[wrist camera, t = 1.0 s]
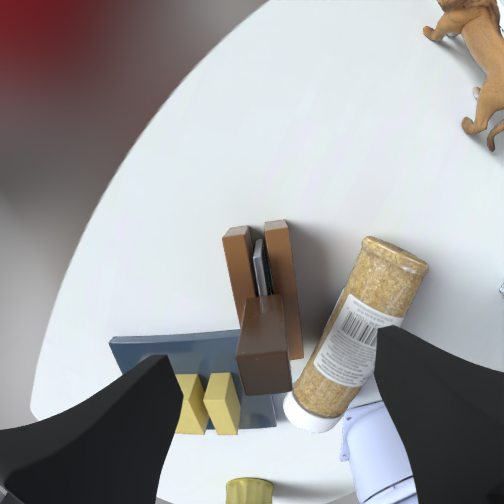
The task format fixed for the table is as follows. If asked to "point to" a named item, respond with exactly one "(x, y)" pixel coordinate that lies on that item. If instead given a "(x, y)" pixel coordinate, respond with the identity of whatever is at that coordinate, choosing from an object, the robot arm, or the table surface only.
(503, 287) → the light bulb box
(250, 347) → the knife
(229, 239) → the brown slab pair
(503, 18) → the computer
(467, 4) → the lion figurine
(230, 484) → the vase
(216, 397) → the butter slice
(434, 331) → the table surface
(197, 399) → the butter block
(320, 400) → the sprinkles bottle
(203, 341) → the dark square plate
